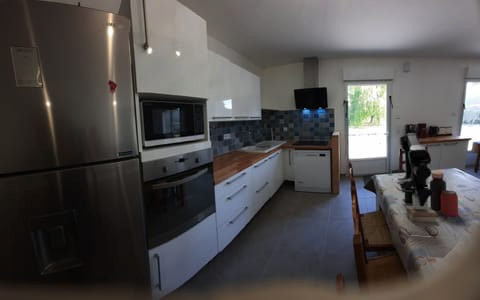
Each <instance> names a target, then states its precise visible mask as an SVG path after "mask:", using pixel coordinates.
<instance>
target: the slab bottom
mask: <svg viewBox="0 0 480 300" xmlns="http://www.w3.org/2000/svg"><path fill="white" fill-rule="evenodd" d="M406 213H407V215H408V216H409V218H410V219H411V221H417V222H436V221H437V220H436V218H437V217H413V216H412V215H411V214H409V213H408V212H407V211H406Z"/></svg>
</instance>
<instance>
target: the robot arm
mask: <svg viewBox="0 0 480 300" xmlns="http://www.w3.org/2000/svg"><path fill="white" fill-rule="evenodd" d="M399 145H400V147H401V149H402V150H403V151H404V166H405V167H404V168H405V175H404V177H403V178H402V180H399V181H398V184H399V186H400V191H401V193H404V198H403V199H402V201H403V202H404V203H405V204H413V199H412V195H417V196H418V198H419V203H420V206H424V204H425V202H426V201H427V199H429V198H430V196H434V194H433V191H432V190H431V189H430V187H429V185H428V184H427V180H428V178H429V177H431V176H432V170H431V168H429V167H428V166H427V165H430V164H431V162H432V159H431V155H430V153H429V151H428V150H427V148H425V147H424V146H421V144H420V141H419V136H418V135H417V133H406V134H404V135H403V136H401V137H399Z"/></svg>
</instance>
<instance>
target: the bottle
mask: <svg viewBox="0 0 480 300" xmlns="http://www.w3.org/2000/svg"><path fill="white" fill-rule="evenodd" d="M429 189H431V190H432V191H433V194H434V196H429V198H430V200H429V201H430V209H432V210H433V211H438V212H439V211H440V212H441V193H442V191H446V190H447V182H446V181H445V180H444V172H440V171H434V172H431V180H430V181H429Z"/></svg>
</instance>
